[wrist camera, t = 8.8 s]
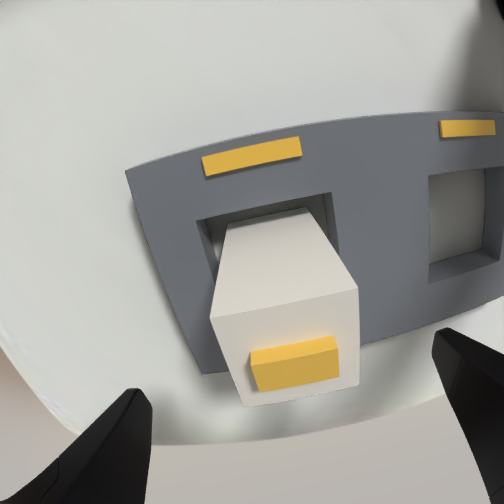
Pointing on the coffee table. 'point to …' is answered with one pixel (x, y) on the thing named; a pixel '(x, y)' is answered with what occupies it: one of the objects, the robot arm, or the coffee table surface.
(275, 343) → the plug
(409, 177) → the panel
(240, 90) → the coffee table surface
